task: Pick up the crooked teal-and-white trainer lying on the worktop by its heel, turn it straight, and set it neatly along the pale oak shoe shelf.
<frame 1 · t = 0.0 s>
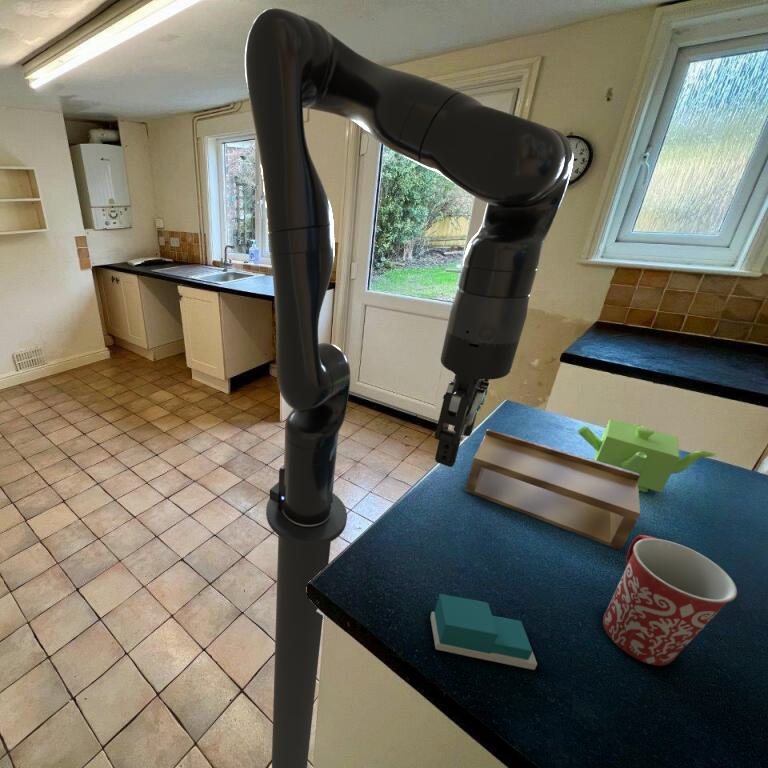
hand: (453, 447, 54), 23 cm above the worktop, tool pointing down, fingers open, 8 cm apart
trainer: (479, 642, 54), on the worktop
shoe shelf: (539, 501, 78), on the worktop
kettle: (624, 478, 85), on the worktop
mug: (631, 627, 56), on the worktop
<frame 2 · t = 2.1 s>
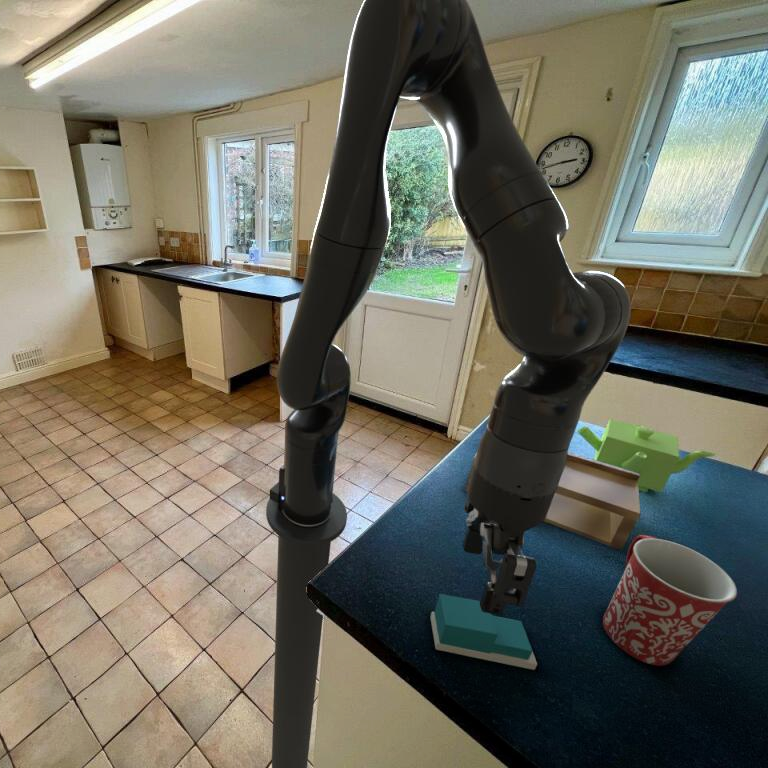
hand: (480, 578, 50), 11 cm above the worktop, tool pointing down, fingers open, 8 cm apart
nothing on the worktop moved.
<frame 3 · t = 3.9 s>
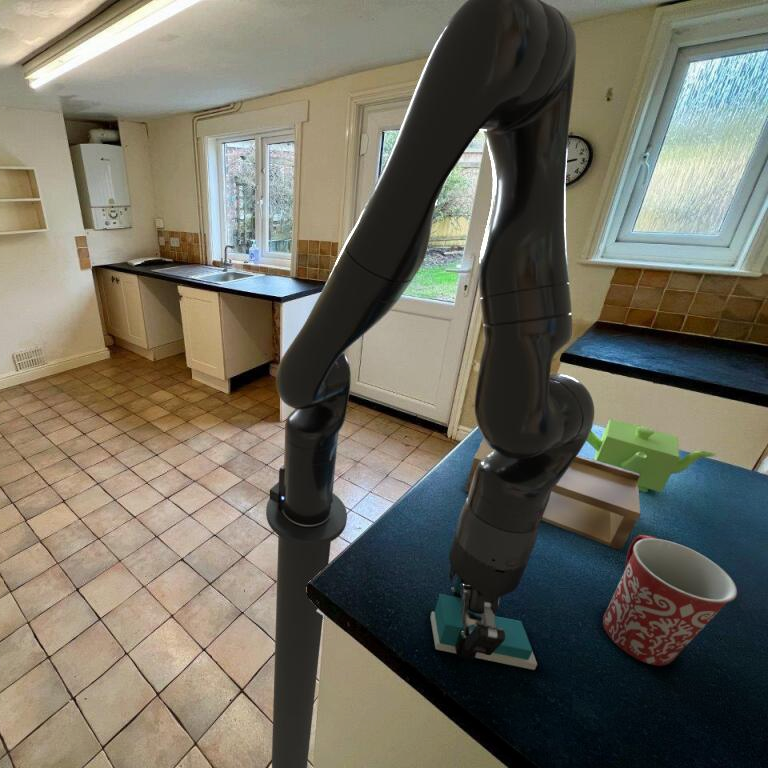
hand: (460, 634, 55), 1 cm above the worktop, tool pointing down, fingers closed on trainer, 4 cm apart
trainer: (479, 642, 54), on the worktop, touching gripper
everything else where it was.
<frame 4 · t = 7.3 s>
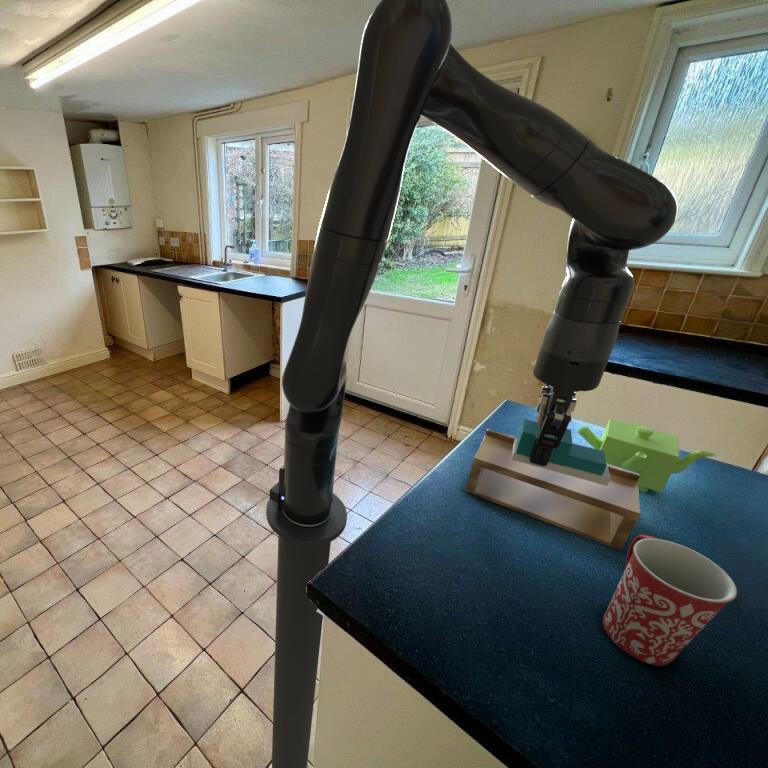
hand: (538, 454, 62), 18 cm above the worktop, tool pointing down, fingers closed on trainer, 4 cm apart
trainer: (556, 464, 61), point 17 cm above the worktop, touching gripper
everything else where it was.
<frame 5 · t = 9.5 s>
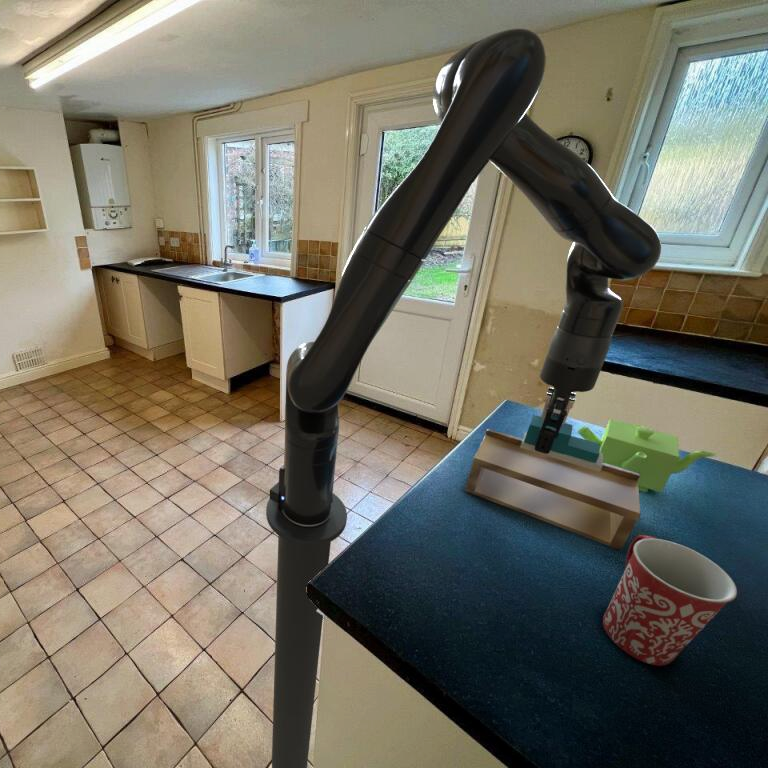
hand: (543, 444, 74), 12 cm above the worktop, tool pointing down, fingers closed on trainer, 4 cm apart
trainer: (559, 453, 73), point 11 cm above the worktop, touching gripper
everything else where it was.
when the fingers open (9 cm above the worktop, at t = 10.8 s): trainer stays where it is, resting on shoe shelf.
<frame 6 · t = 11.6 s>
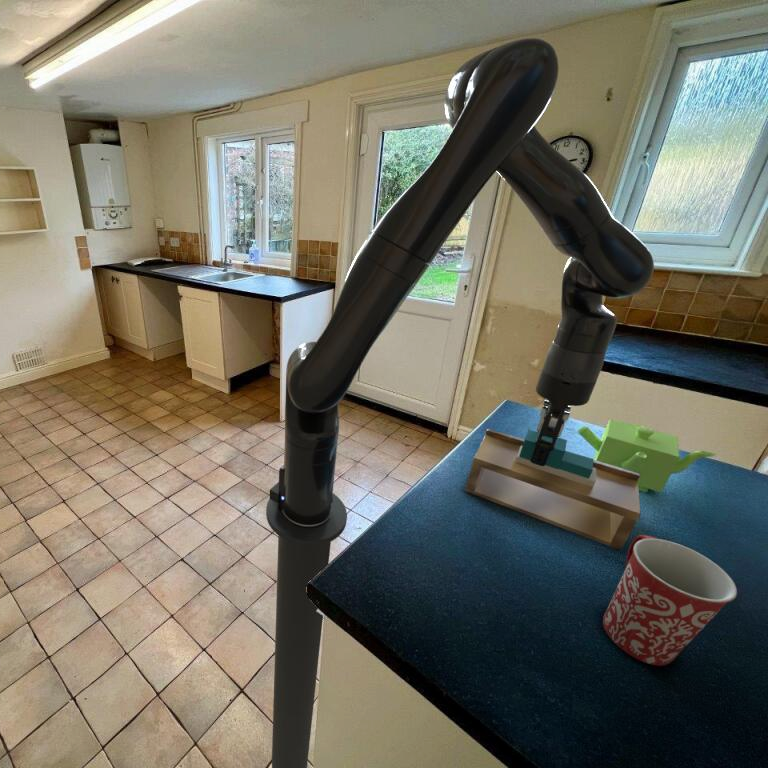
hand: (540, 452, 75), 10 cm above the worktop, tool pointing down, fingers open, 8 cm apart
trainer: (553, 467, 75), point 8 cm above the worktop, touching shoe shelf
everything else where it was.
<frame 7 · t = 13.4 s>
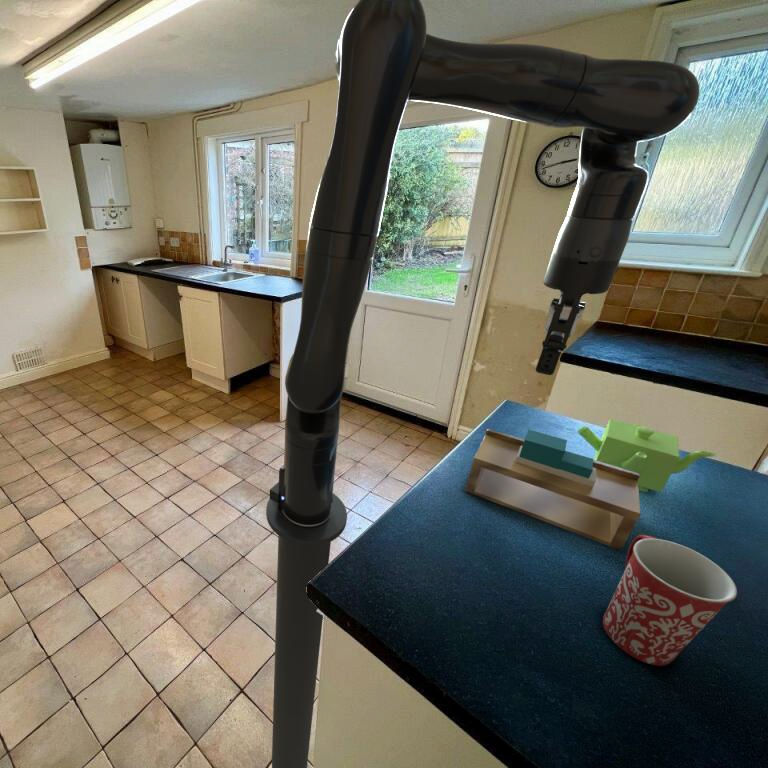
hand: (546, 364, 63), 30 cm above the worktop, tool pointing down, fingers open, 8 cm apart
nothing on the worktop moved.
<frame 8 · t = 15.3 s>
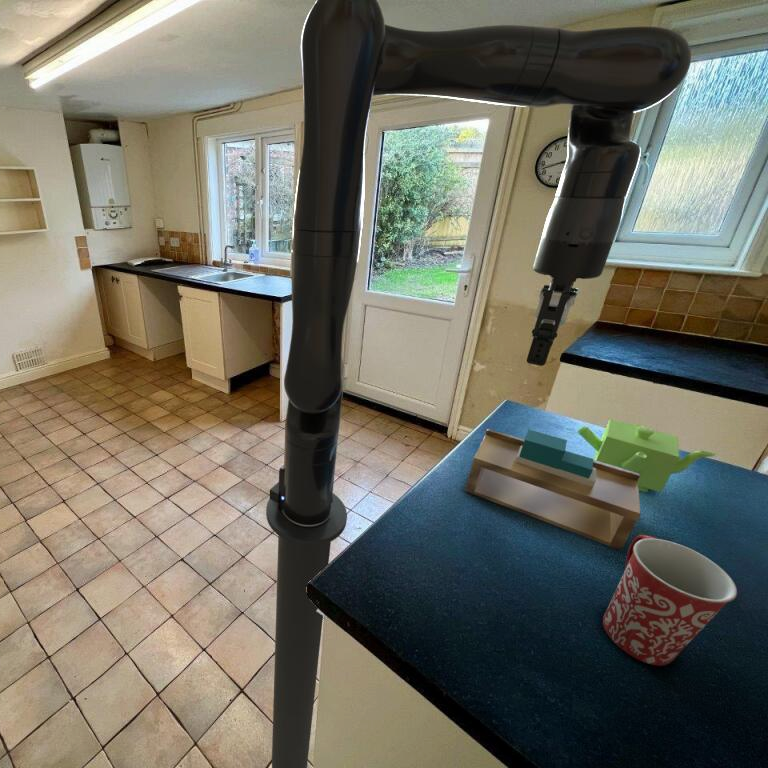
hand: (539, 354, 60), 32 cm above the worktop, tool pointing down, fingers open, 8 cm apart
nothing on the worktop moved.
at the end: trainer inside the target area on the shoe shelf (0.1 cm from its centre), point 8.0 cm above the shoe shelf's base; trainer tilted 0°; the gripper is holding nothing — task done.
